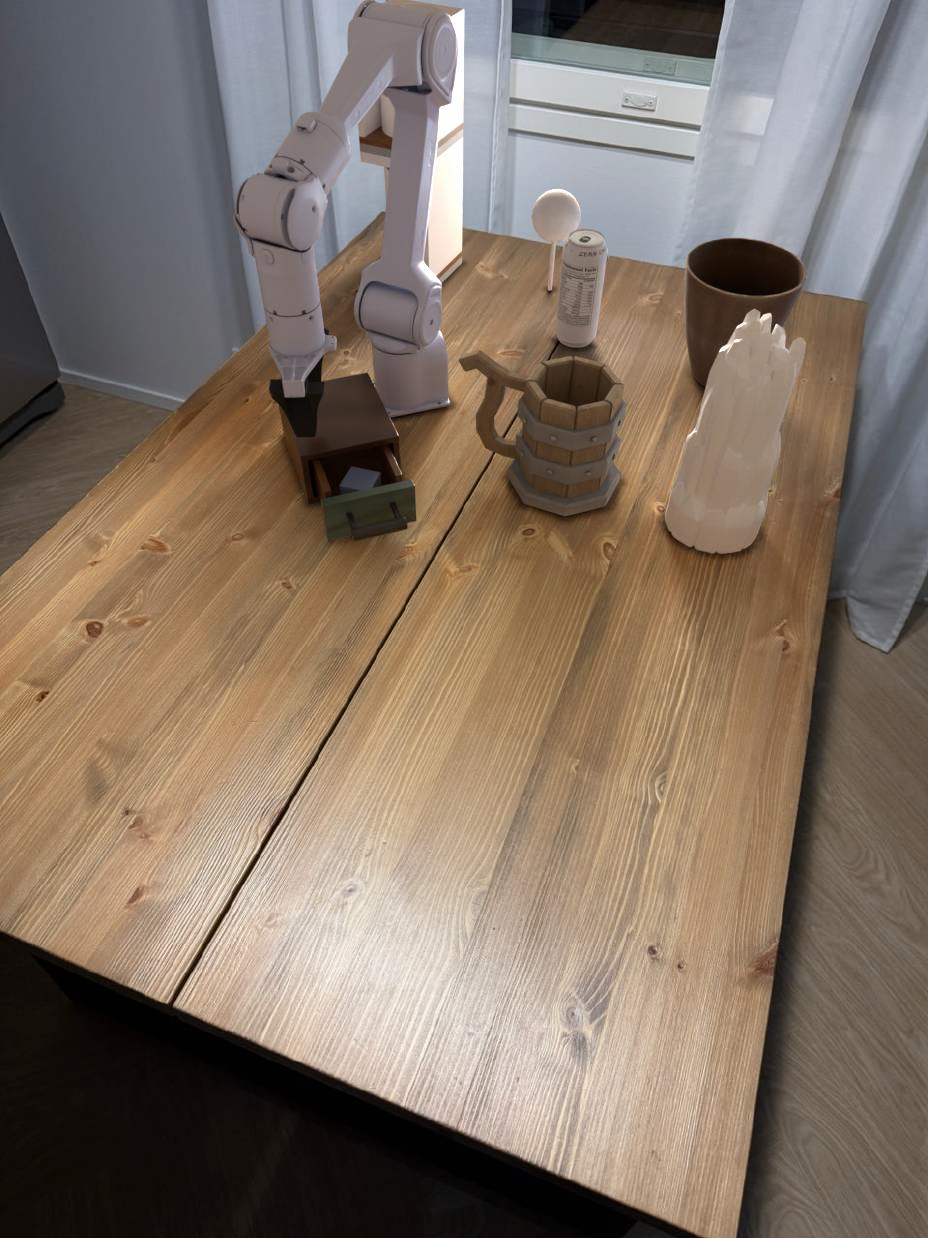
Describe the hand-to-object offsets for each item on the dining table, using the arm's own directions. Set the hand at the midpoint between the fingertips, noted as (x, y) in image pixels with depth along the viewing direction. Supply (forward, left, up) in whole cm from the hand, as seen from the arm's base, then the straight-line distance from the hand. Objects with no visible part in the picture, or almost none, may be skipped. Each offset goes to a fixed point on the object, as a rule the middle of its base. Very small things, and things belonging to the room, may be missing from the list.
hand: (308, 414), depth 100 cm
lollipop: (-45, -34, -11) cm, 57 cm away
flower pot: (-58, -5, -11) cm, 59 cm away
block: (-4, +7, -8) cm, 12 cm away
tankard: (-26, +6, -11) cm, 29 cm away
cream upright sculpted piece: (-42, +21, -11) cm, 48 cm away
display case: (-27, -46, -11) cm, 54 cm away
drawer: (-4, +7, -9) cm, 12 cm away
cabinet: (-4, -4, -10) cm, 12 cm away
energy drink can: (-43, -20, -11) cm, 48 cm away
